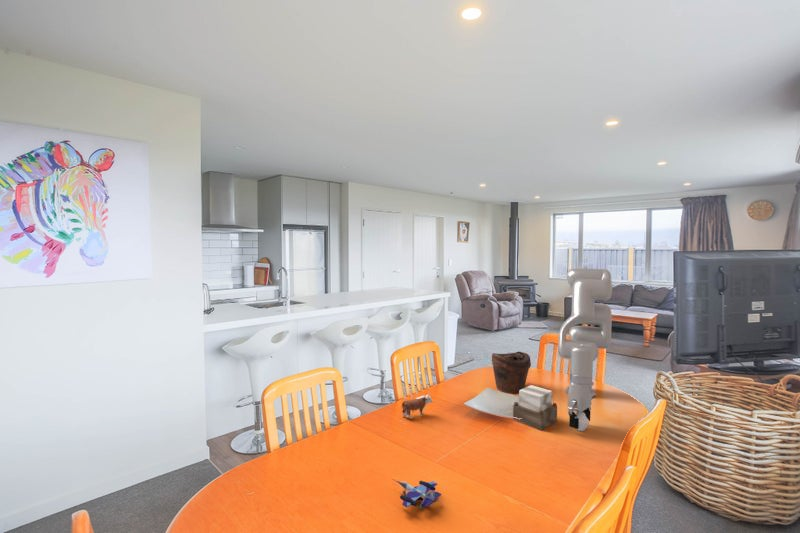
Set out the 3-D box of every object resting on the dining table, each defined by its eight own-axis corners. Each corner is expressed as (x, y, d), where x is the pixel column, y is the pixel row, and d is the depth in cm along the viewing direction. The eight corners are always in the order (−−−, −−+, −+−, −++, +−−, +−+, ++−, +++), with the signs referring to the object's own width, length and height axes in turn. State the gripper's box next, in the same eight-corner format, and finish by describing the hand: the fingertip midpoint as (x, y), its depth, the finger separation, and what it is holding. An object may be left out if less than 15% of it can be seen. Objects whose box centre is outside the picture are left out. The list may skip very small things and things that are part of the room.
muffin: (572, 424, 155) (572, 406, 154) (589, 427, 152) (590, 409, 151) (569, 430, 149) (570, 412, 149) (587, 434, 146) (588, 415, 146)
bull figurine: (434, 415, 162) (434, 395, 162) (403, 420, 158) (403, 400, 157) (429, 411, 167) (429, 392, 166) (399, 416, 162) (399, 396, 161)
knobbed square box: (529, 411, 166) (529, 383, 165) (556, 421, 157) (557, 391, 156) (513, 419, 158) (513, 390, 158) (541, 430, 149) (541, 399, 149)
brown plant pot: (535, 385, 196) (535, 349, 195) (524, 399, 179) (524, 359, 178) (499, 379, 206) (499, 345, 205) (486, 392, 189) (485, 354, 188)
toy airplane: (389, 486, 115) (389, 474, 115) (437, 485, 116) (437, 473, 116) (389, 517, 102) (389, 503, 102) (443, 516, 103) (443, 503, 102)
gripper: (581, 371, 158) (580, 414, 159) (560, 381, 146) (559, 427, 147) (601, 376, 152) (599, 420, 153) (580, 387, 141) (579, 434, 142)
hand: (579, 423), depth 150 cm, fingers open, 9 cm apart
